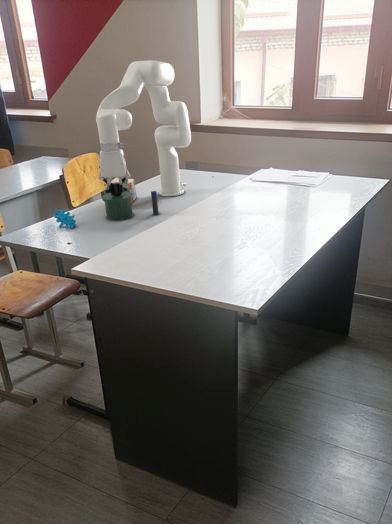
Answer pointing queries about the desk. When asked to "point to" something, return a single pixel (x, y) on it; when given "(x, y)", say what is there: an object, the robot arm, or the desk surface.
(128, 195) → the lid
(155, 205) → the cylinder
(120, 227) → the desk surface
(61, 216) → the gear
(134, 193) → the stack of blocks
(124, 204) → the green hollow cylinder
